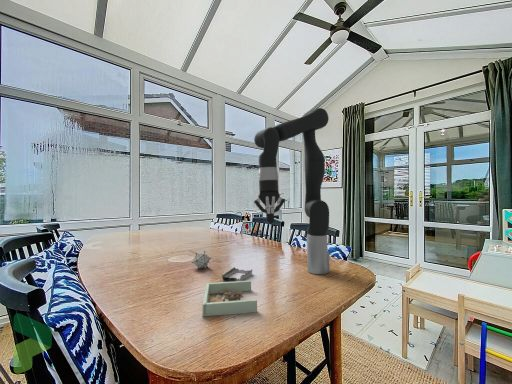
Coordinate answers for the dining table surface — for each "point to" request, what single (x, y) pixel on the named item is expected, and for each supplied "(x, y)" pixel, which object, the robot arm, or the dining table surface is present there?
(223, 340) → the dining table surface
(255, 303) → the frame
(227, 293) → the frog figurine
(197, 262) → the grey spiky ball
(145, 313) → the dining table surface
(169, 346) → the dining table surface
